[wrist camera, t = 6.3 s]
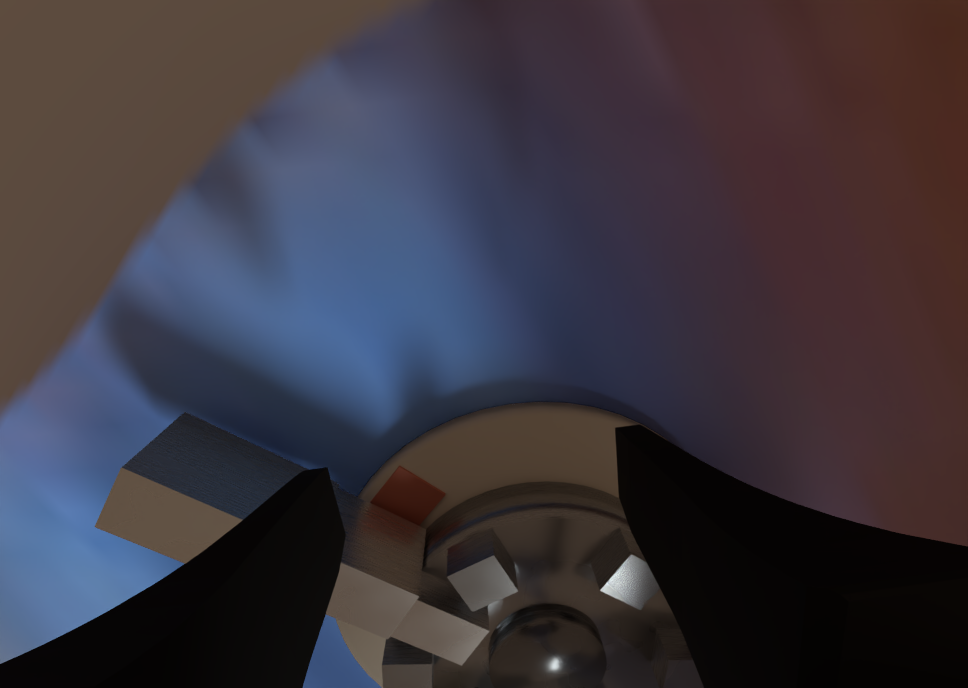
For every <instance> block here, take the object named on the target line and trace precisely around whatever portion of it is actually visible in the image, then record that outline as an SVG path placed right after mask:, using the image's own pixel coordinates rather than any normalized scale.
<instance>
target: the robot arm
mask: <svg viewBox="0 0 968 688" xmlns="http://www.w3.org/2000/svg"><path fill="white" fill-rule="evenodd" d="M615 437H616V456H617V474H618V492H619V499H620V502H621V505H622V508H623V511H624V514H625V516H626V519H627V522H628V524H629V527H630V530H631V533H632V535H633V537H634V539H635V541H636V543H637V545H638V547H639V549H640V551H641V552H642V554H643V556H644V558H645V560H646V562H647V564H648V566H649V568H650V570H651V572H652V574H653V576H654V578H655V580H656V582H657V583H658V585H659V587H660V589H661V591H662V593H663V595H664V597H665V599H666V601H667V603H668V605H669V607H670V609H671V611H672V612H673V614H674V617H675V619H676V621H677V623H678V625H679V627H680V629H681V632H682V634H683V636H684V639H685V641H686V644H687V646H688V649H689V651H690V654H691V656H692V659H693V661H694V664H695V666H696V669H697V671H698V674H699V676H700V679H701V681H702V684H703V687H704V688H968V547H967V546H962V545H957V544H952V543H946V542H941V541H936V540H931V539H926V538H920V537H915V536H910V535H905V534H900V533H896V532H892V531H888V530H884V529H880V528H876V527H872V526H868V525H864V524H860V523H856V522H853V521H849V520H846V519H842V518H839V517H835V516H832V515H829V514H826V513H823V512H820V511H817V510H814V509H810V508H807V507H804V506H801V505H798V504H796V503H793V502H790V501H787V500H785V499H782V498H779V497H777V496H775V495H772V494H770V493H767V492H765V491H763V490H760V489H758V488H755V487H753V486H751V485H748V484H746V483H744V482H742V481H740V480H738V479H736V478H734V477H732V476H730V475H728V474H726V473H724V472H722V471H720V470H718V469H716V468H714V467H712V466H710V465H708V464H706V463H705V462H703V461H701V460H699V459H697V458H696V457H694V456H692V455H690V454H689V453H687V452H685V451H684V450H682V449H680V448H679V447H677V446H675V445H674V444H672V443H670V442H669V441H667V440H665V439H664V438H662V437H660V436H659V435H657V434H656V433H654V432H652V431H651V430H649V429H647V428H646V427H644V426H642V425H640V424H638V425H631V426H624V427H616V428H615ZM345 537H346V533H345V530H344V526H343V522H342V519H341V515H340V512H339V508H338V504H337V501H336V497H335V494H334V490H333V486H332V483H331V479H330V476H329V472H328V468H327V467H326V468H319V469H312V470H305V471H302V472H301V473H299V474H298V475H296V476H295V477H294V478H292V479H291V480H290V481H289V482H287V483H286V484H285V485H284V486H283V487H281V488H280V489H279V490H278V491H277V492H276V493H274V494H273V495H272V496H271V497H270V498H268V499H267V500H266V501H265V502H264V503H263V504H261V505H260V506H259V507H258V508H257V509H255V510H254V511H253V512H252V513H251V514H249V515H248V516H247V517H246V518H245V519H243V520H242V521H241V522H240V523H238V524H237V525H236V526H235V527H233V528H232V529H231V530H230V531H228V532H227V533H226V534H224V535H223V536H222V537H221V538H219V539H218V540H217V541H215V542H214V543H213V544H212V545H210V546H209V547H208V548H206V549H205V550H204V551H202V552H201V553H200V554H198V555H197V556H195V557H194V558H193V559H191V560H190V561H188V562H187V563H186V564H184V565H183V566H181V567H180V568H178V569H177V570H175V571H174V572H172V573H171V574H169V575H168V576H166V577H165V578H163V579H161V580H160V581H158V582H157V583H155V584H154V585H152V586H150V587H149V588H147V589H145V590H143V591H142V592H140V593H138V594H137V595H135V596H133V597H132V598H130V599H128V600H126V601H125V602H123V603H121V604H120V605H118V606H116V607H115V608H113V609H111V610H109V611H108V612H106V613H104V614H102V615H100V616H99V617H97V618H95V619H93V620H91V621H89V622H87V623H85V624H83V625H81V626H80V627H78V628H76V629H74V630H72V631H70V632H68V633H66V634H64V635H62V636H60V637H58V638H56V639H54V640H52V641H50V642H48V643H46V644H44V645H41V646H39V647H37V648H35V649H33V650H31V651H29V652H27V653H24V654H22V655H20V656H18V657H15V658H13V659H11V660H8V661H6V662H4V663H2V664H0V688H303V683H304V680H305V676H306V673H307V669H308V666H309V663H310V660H311V657H312V653H313V650H314V647H315V644H316V641H317V638H318V635H319V632H320V629H321V626H322V623H323V620H324V617H325V614H326V611H327V608H328V605H329V602H330V599H331V596H332V593H333V590H334V587H335V584H336V580H337V577H338V574H339V570H340V565H341V560H342V554H343V548H344V542H345Z"/></svg>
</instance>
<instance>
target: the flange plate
mask: <svg viewBox="0 0 968 688" xmlns="http://www.w3.org/2000/svg"><path fill="white" fill-rule="evenodd" d="M638 424H640V423H638V422H636V421H634V420H631V419H629V418H627V417H625V416H622V415H620V414H616V413H613V412H610V411H606V410H603V409H599V408H596V407H591V406H585V405H579V404H572V403H563V402H527V403H514V404H507V405H502V406H497V407H492V408H487V409H482V410H479V411H476V412H473V413H470V414H466V415H463V416H460V417H457V418H454V419H452V420H450V421H448V422H446V423H444V424H441V425H439V426H437V427H435V428H433V429H431V430H429V431H427V432H426V433H424V434H422V435H421V436H419V437H418V438H416V439H415V440H413V441H411V442H410V443H408V444H407V445H405V446H404V447H403V448H402V449H400V450H399V451H398V452H397V453H396V454H394V455H393V456H392V457H391V458H390V459H388V460H387V461H386V462H385V463H384V464H383V465H382V466H381V468H380V469H379V470H378V471H377V472H376V473H375V474H374V475H373V476H372V477H371V478H370V480H369V481H368V482H367V484H366V485H365V487H364V488H363V490H362V491H361V493H360V494H359V496H358V497H359V498H361V499H363V500H365V501H367V502H369V503H371V504H374V505H376V506H378V507H380V508H382V509H384V510H386V511H389V512H391V513H393V514H395V515H397V516H399V517H401V518H404V519H406V520H408V521H410V522H412V523H414V524H417V525H419V526H421V527H423V528H425V529H427V528H428V527H429V526H430V525H431V524H432V523H433V522H434V521H435V520H436V519H438V518H439V517H440V516H442V515H443V514H445V513H446V512H447V511H449V510H450V509H451V508H453V507H455V506H457V505H458V504H460V503H462V502H464V501H466V500H467V499H469V498H472V497H474V496H477V495H479V494H482V493H484V492H487V491H490V490H493V489H497V488H500V487H504V486H508V485H514V484H520V483H526V482H543V481H550V482H567V483H572V484H578V485H584V486H588V487H591V488H595V489H598V490H601V491H604V492H607V493H609V494H611V495H613V496H615V497H618V498H619V492H618V474H617V456H616V437H615V428H616V427H624V426H631V425H638ZM640 425H642V426H644V427H646V426H645V425H643V424H640ZM646 428H647V429H649V430H651V429H650V428H648V427H646ZM651 431H652V432H654V431H653V430H651ZM654 433H656V432H654ZM656 434H657V435H659V434H658V433H656ZM659 436H660V437H662V436H661V435H659ZM662 438H664V437H662ZM664 439H665V440H667V439H666V438H664ZM667 441H668V440H667ZM336 621H337V624H338V627H339V629H340V631H341V634H342V636H343V639H344V641H345V643H346V645H347V646H348V648H349V650H350V651H351V653H352V655H353V656H354V658H355V659H356V661H357V662H358V663H359V664H360V665H361V667H362V668H363V669H364V670H365V671H366V673H367V674H368V675H369V676H370V677H371V678H372V679H373V680H375V681H376V682H377V683H378V684H379V685H380V686H381V687H382V688H383V678H382V661H383V655H384V648H385V642H386V639H385V638H383V637H380V636H378V635H376V634H373V633H371V632H368V631H366V630H363V629H361V628H358V627H356V626H353V625H351V624H348V623H346V622H343V621H341V620H339V619H336Z"/></svg>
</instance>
